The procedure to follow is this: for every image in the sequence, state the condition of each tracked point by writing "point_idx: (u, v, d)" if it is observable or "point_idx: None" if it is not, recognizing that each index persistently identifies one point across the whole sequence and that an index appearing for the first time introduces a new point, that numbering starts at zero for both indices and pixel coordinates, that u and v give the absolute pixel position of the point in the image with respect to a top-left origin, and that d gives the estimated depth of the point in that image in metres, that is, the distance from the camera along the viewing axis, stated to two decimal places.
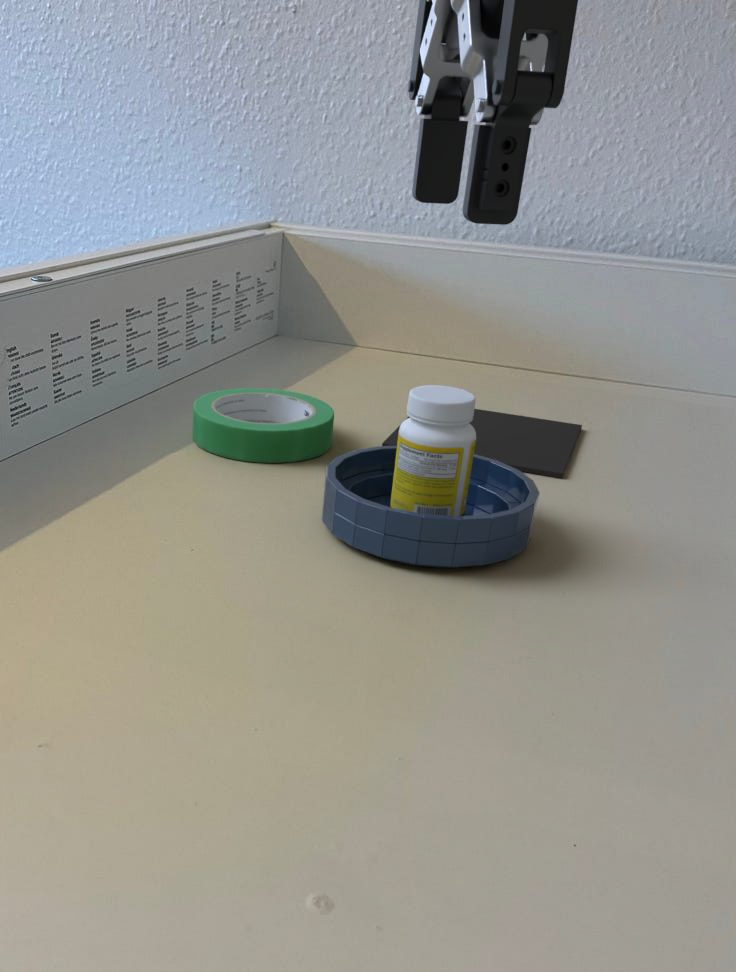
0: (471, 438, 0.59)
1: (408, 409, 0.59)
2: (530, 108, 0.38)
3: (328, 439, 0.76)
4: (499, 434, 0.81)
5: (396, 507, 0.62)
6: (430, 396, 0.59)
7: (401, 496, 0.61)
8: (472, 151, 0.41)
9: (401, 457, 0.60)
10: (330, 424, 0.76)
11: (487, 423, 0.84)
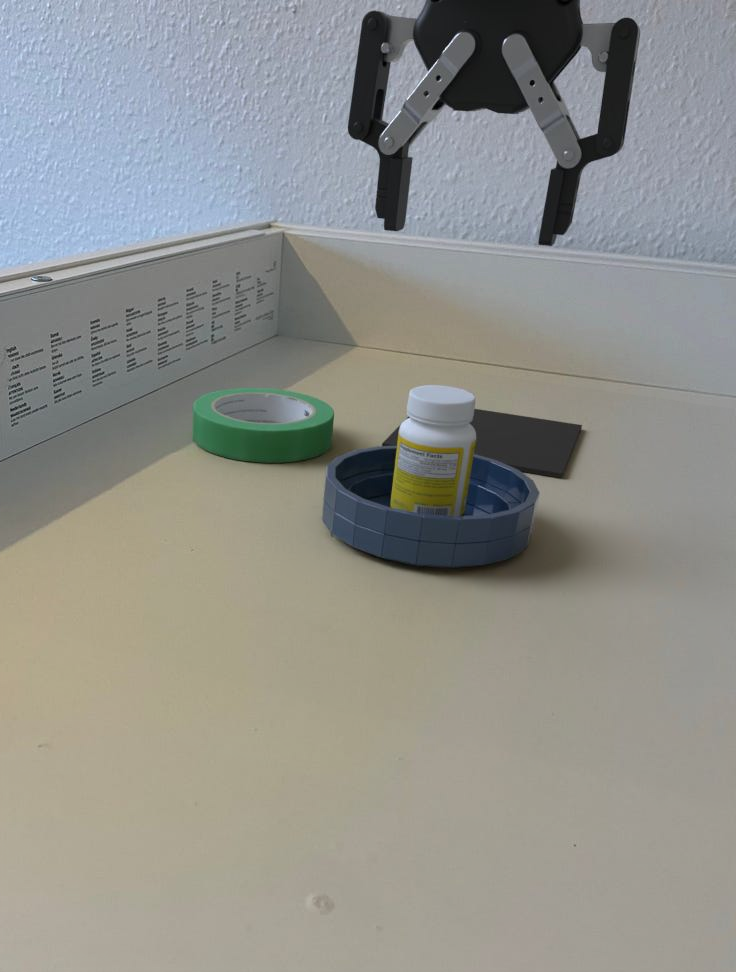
0: (471, 438, 0.59)
1: (408, 409, 0.59)
2: None
3: (328, 439, 0.76)
4: (499, 434, 0.81)
5: (396, 507, 0.62)
6: (430, 396, 0.59)
7: (401, 496, 0.61)
8: (551, 190, 0.51)
9: (401, 457, 0.60)
10: (330, 424, 0.76)
11: (487, 423, 0.84)
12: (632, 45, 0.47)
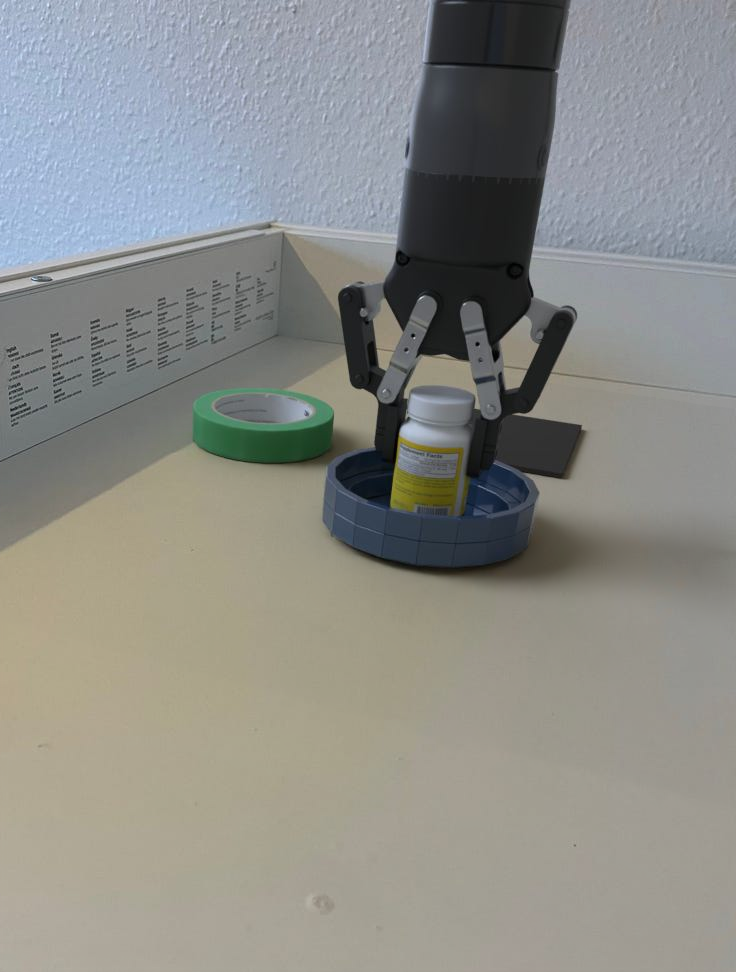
0: (471, 438, 0.59)
1: (408, 409, 0.59)
2: None
3: (328, 439, 0.76)
4: None
5: (396, 507, 0.62)
6: (430, 396, 0.59)
7: (401, 496, 0.61)
8: (476, 435, 0.59)
9: (401, 457, 0.60)
10: (330, 424, 0.76)
11: None
12: (564, 336, 0.54)
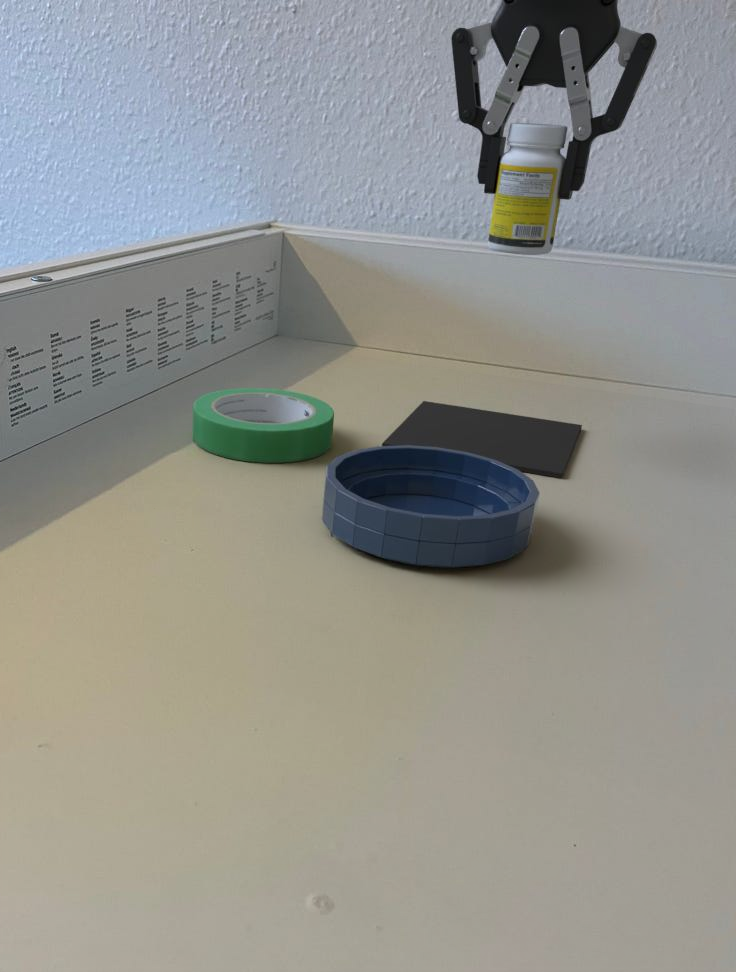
0: (563, 162, 0.70)
1: (509, 138, 0.70)
2: None
3: (328, 439, 0.76)
4: (499, 434, 0.81)
5: (496, 231, 0.72)
6: (529, 124, 0.69)
7: (501, 219, 0.72)
8: (569, 157, 0.69)
9: (502, 183, 0.71)
10: (330, 424, 0.76)
11: (487, 423, 0.84)
12: (648, 55, 0.65)
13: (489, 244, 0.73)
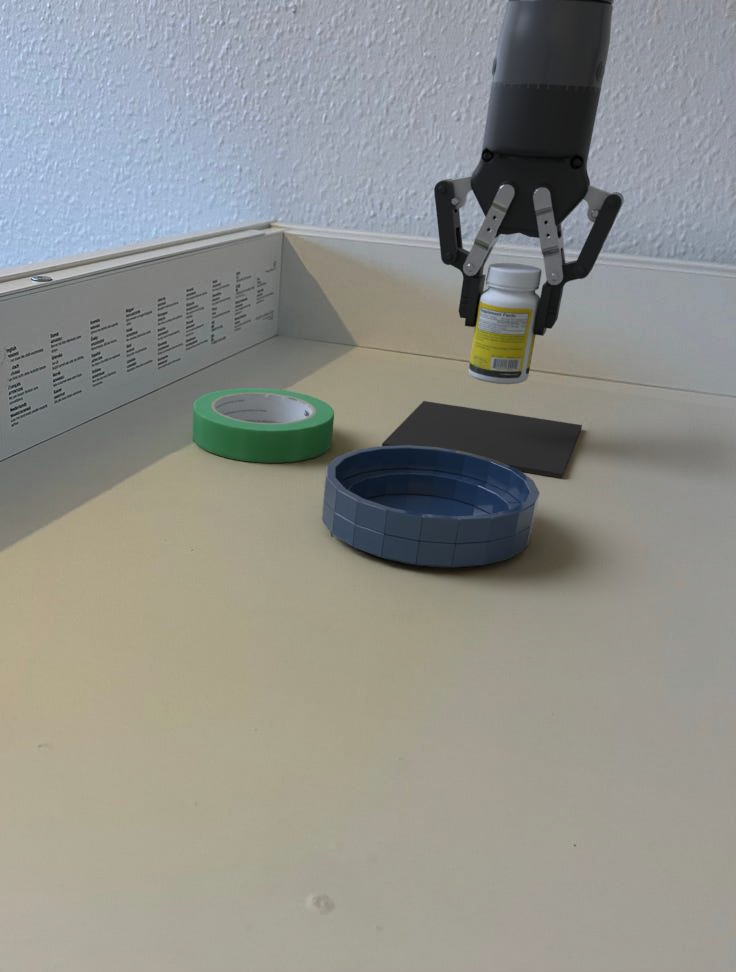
0: (538, 302, 0.75)
1: (488, 280, 0.75)
2: None
3: (328, 439, 0.76)
4: (499, 434, 0.81)
5: (476, 361, 0.78)
6: (506, 268, 0.74)
7: (481, 352, 0.77)
8: (542, 299, 0.74)
9: (481, 319, 0.76)
10: (330, 424, 0.76)
11: (487, 423, 0.84)
12: (614, 214, 0.70)
13: (470, 372, 0.79)
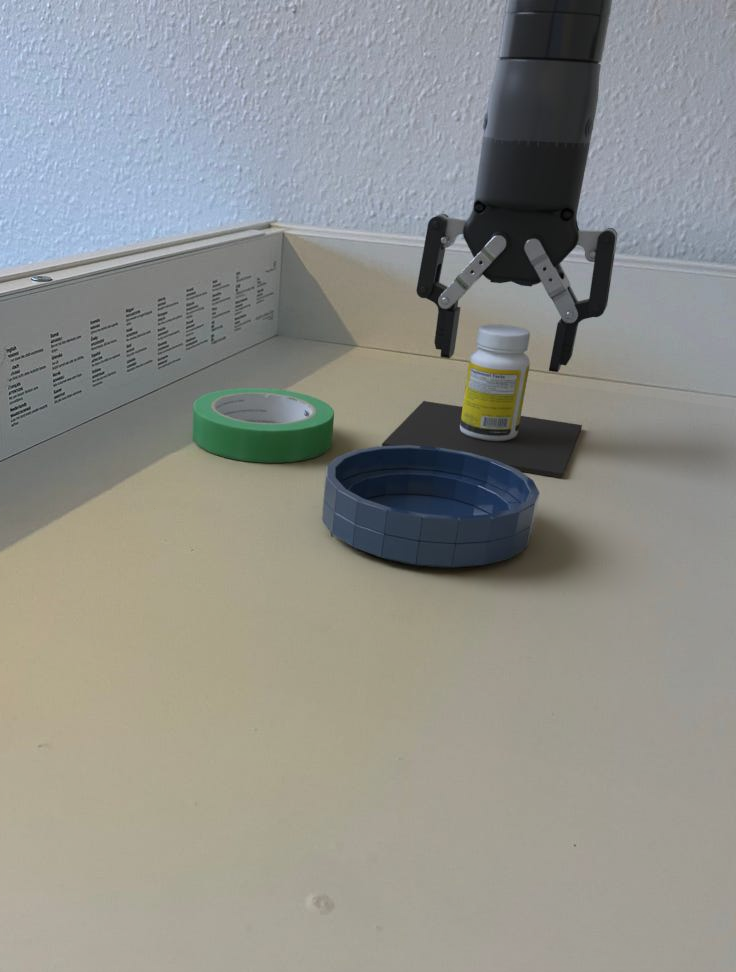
0: (526, 363, 0.77)
1: (478, 341, 0.78)
2: None
3: (328, 439, 0.76)
4: None
5: (466, 419, 0.80)
6: (495, 331, 0.77)
7: (471, 410, 0.79)
8: (557, 336, 0.75)
9: (472, 379, 0.78)
10: (330, 424, 0.76)
11: None
12: (611, 248, 0.71)
13: (461, 428, 0.81)
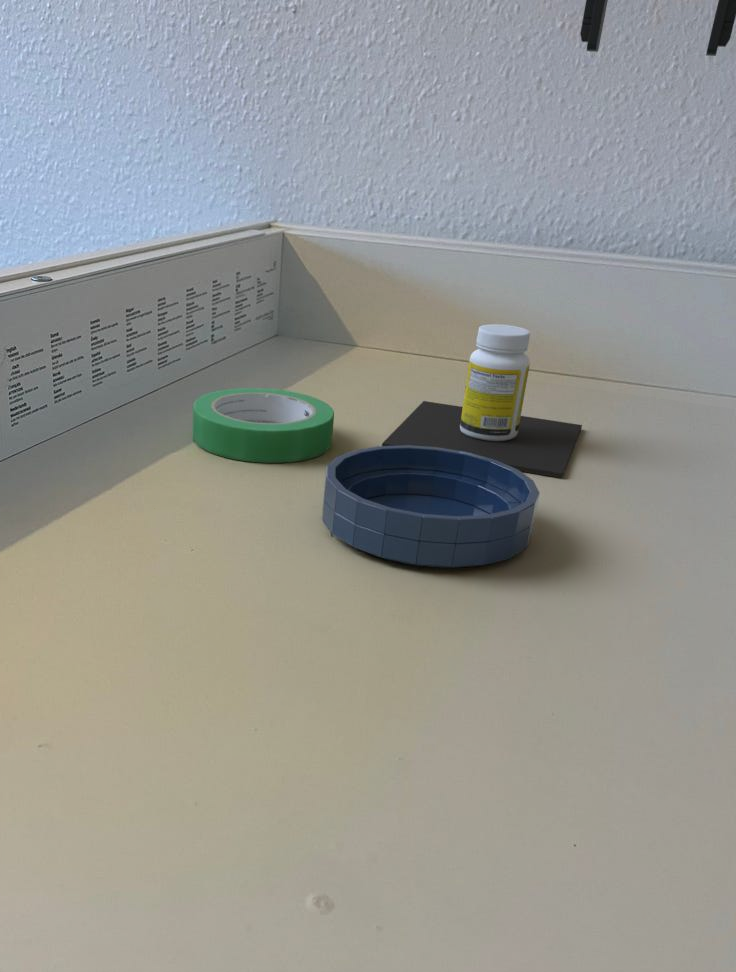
0: (526, 363, 0.77)
1: (478, 341, 0.78)
2: None
3: (328, 439, 0.76)
4: None
5: (466, 419, 0.80)
6: (495, 331, 0.77)
7: (471, 410, 0.79)
8: (719, 10, 0.71)
9: (472, 379, 0.78)
10: (330, 424, 0.76)
11: None
12: None
13: (461, 428, 0.81)
